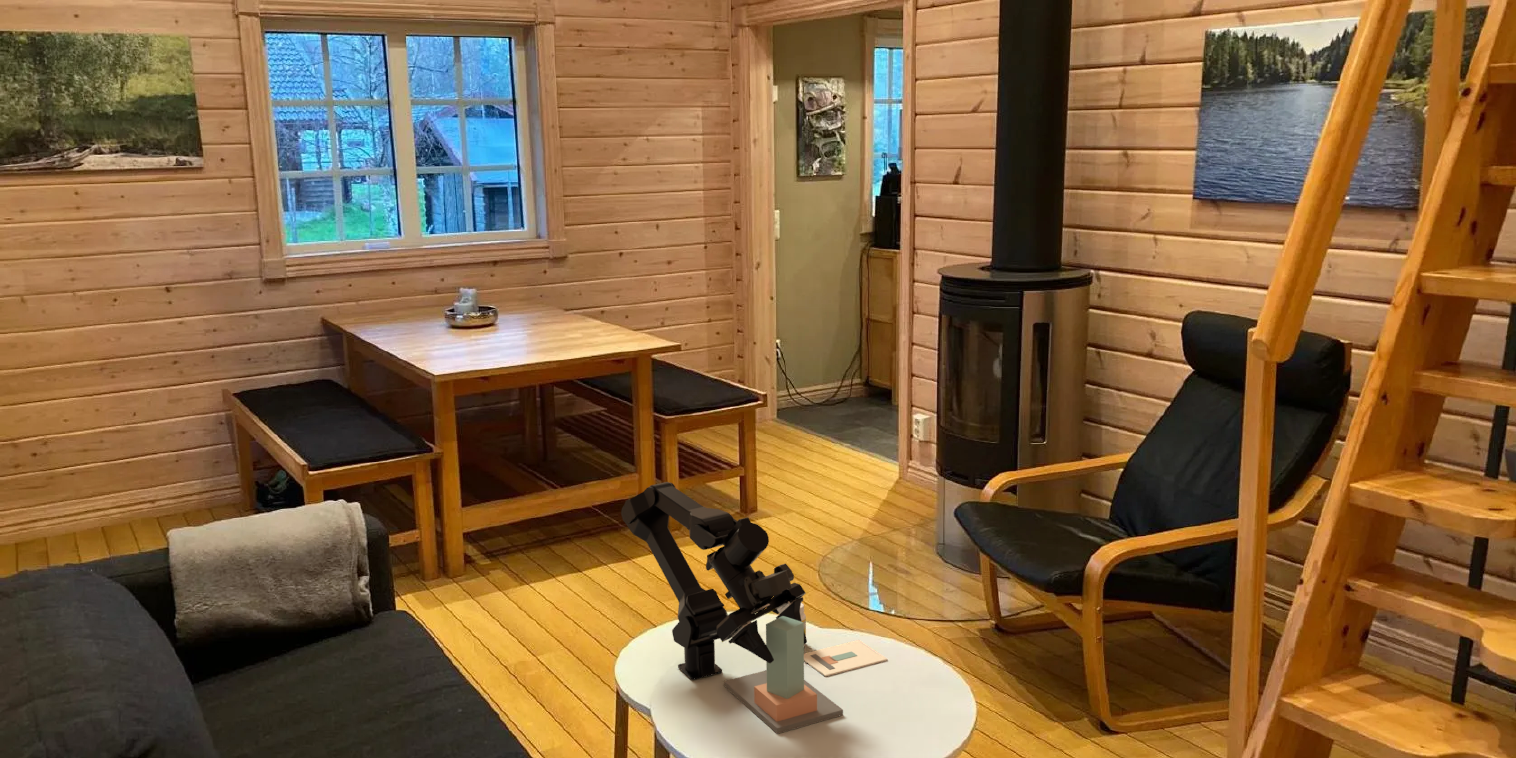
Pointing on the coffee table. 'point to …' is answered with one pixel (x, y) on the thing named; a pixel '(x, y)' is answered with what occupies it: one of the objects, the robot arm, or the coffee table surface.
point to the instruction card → (843, 658)
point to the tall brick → (785, 656)
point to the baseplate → (788, 724)
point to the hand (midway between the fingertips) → (788, 652)
